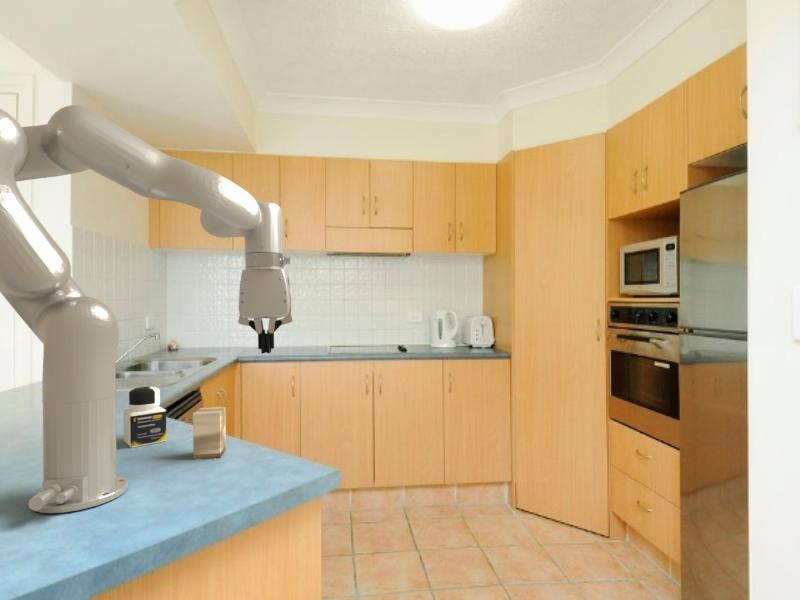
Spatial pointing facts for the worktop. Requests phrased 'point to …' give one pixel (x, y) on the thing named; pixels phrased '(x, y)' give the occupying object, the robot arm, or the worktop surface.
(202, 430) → the birch block
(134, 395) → the medicine bottle
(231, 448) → the worktop surface
